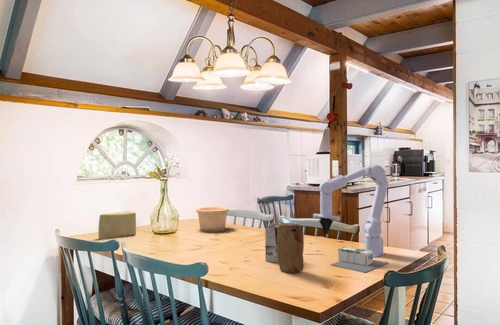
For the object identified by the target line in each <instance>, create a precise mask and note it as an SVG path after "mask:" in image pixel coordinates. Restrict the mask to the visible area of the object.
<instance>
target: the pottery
mask: <svg viewBox="0 0 500 325" xmlns="http://www.w3.org/2000/svg"><path fill="white" fill-rule="evenodd" d="M195 212H196V213H197V216H198V223H199V230H200V231H201V232H204V233H217V232H218V231H220V232H223V231H225V230H226V222H227V221H226V220H227V213H228V212H229V208H228V207H225V206H224V207H223V206H204V207H197V208H196V209H195Z"/></svg>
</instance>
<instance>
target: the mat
mask: <svg viewBox="0 0 500 325" xmlns="http://www.w3.org/2000/svg"><path fill="white" fill-rule="evenodd" d="M388 264H389V263H388V262H386V261H385V262H384V261H380V260H375V259H373V263H372V264H370V265H368V266H367V265H361V264H355V263H349V262H344V261H339V260H338V261H337V262H333V263H332V264H331V263H330V266H332V267H333V266H334V267H338V268H341V269H347V270H352V271H356V272H360V273H364V274H366V273H369V272H370V271H373V270H375V269H378V268H381V267H383V266H385V265H388Z"/></svg>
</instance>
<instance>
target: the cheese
mask: <svg viewBox="0 0 500 325" xmlns="http://www.w3.org/2000/svg"><path fill="white" fill-rule="evenodd" d="M136 234H137V213H136V212H135V211H132V210H129V211H120V212H113V213H112V212H111V213H102V214H100V215H99V220H98V239H99V240H104V239H105V240H106V239H115V238H120V237H121V238H124V237H131V236H136Z"/></svg>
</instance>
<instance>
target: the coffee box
mask: <svg viewBox="0 0 500 325" xmlns="http://www.w3.org/2000/svg"><path fill="white" fill-rule="evenodd" d="M278 225H279V224H277V223H275V224H269V225H267V226H265V237H264V238H265V243H264V244H265V245H264V246H265V254H264V256H265V262H272V263H278V258H277V236H278Z"/></svg>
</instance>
